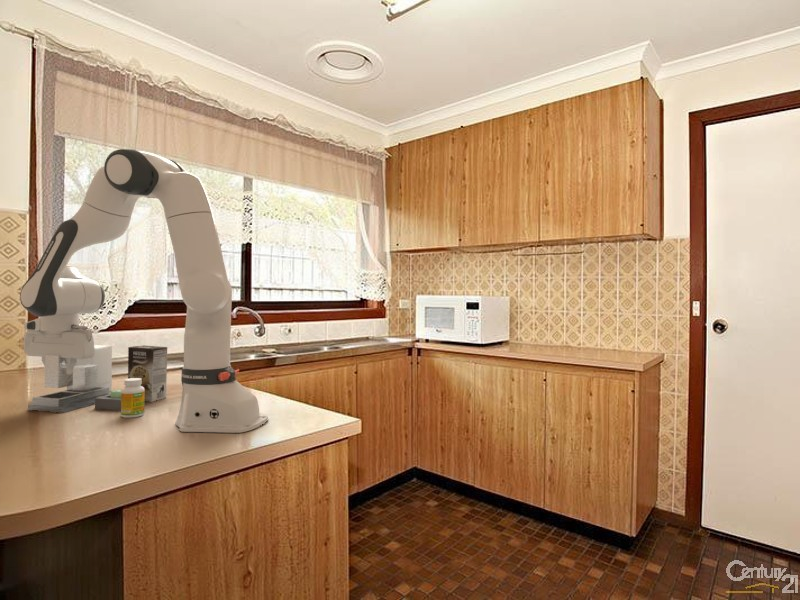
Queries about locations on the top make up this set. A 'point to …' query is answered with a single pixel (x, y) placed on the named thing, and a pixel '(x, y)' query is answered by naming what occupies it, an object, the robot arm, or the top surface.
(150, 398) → the coffee box
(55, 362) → the billet
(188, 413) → the robot arm
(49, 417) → the top surface
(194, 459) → the top surface
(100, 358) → the supplement box
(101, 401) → the grey square frame
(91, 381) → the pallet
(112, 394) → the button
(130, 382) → the supplement bottle
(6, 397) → the top surface
